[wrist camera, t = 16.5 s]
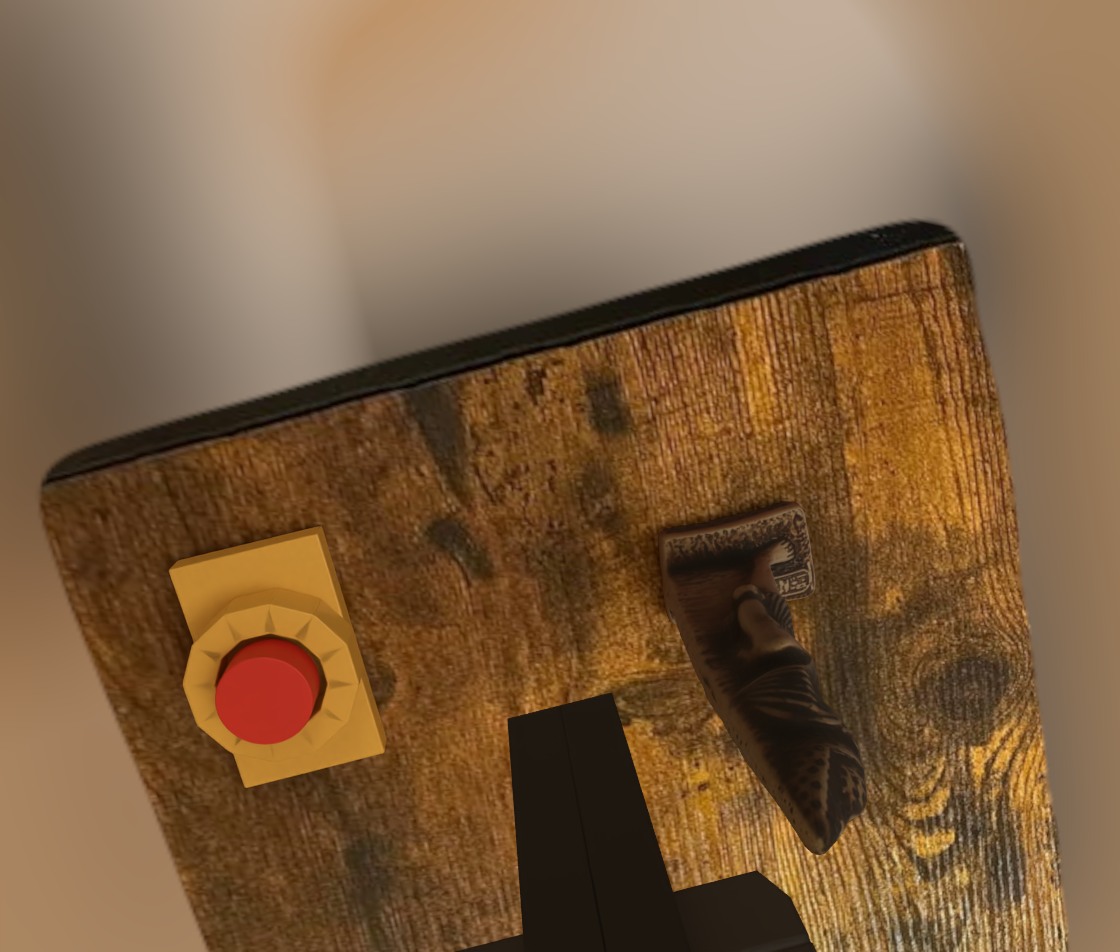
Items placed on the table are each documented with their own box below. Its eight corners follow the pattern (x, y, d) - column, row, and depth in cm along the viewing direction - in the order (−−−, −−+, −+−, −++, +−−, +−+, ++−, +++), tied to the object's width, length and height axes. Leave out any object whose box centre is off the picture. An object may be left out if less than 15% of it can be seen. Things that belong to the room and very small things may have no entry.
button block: (170, 561, 38) (146, 587, 35) (328, 523, 39) (316, 546, 36) (245, 775, 41) (228, 815, 38) (392, 737, 41) (387, 775, 38)
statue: (808, 583, 41) (1108, 882, 22) (650, 621, 41) (814, 958, 22) (793, 493, 40) (1096, 724, 21) (631, 531, 40) (787, 800, 21)
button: (213, 651, 37) (201, 671, 35) (305, 628, 37) (297, 647, 35) (241, 732, 38) (231, 755, 36) (331, 710, 38) (324, 731, 36)
